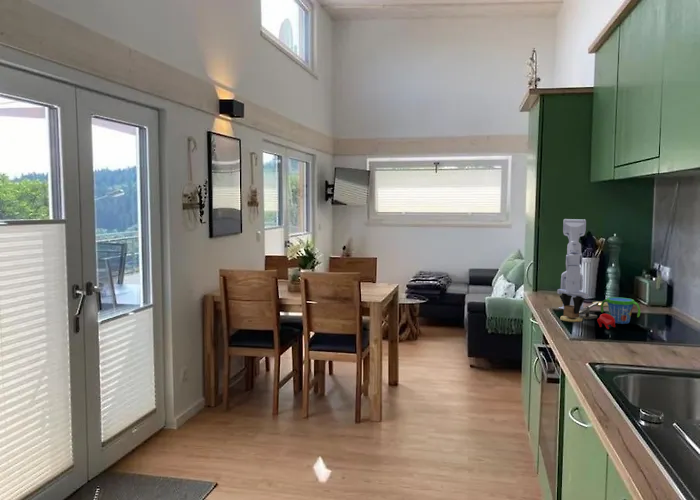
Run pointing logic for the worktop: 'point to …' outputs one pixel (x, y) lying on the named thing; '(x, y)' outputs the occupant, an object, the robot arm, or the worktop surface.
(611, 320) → the red toy piece
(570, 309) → the block
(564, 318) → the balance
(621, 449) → the worktop surface
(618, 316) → the snack cup
